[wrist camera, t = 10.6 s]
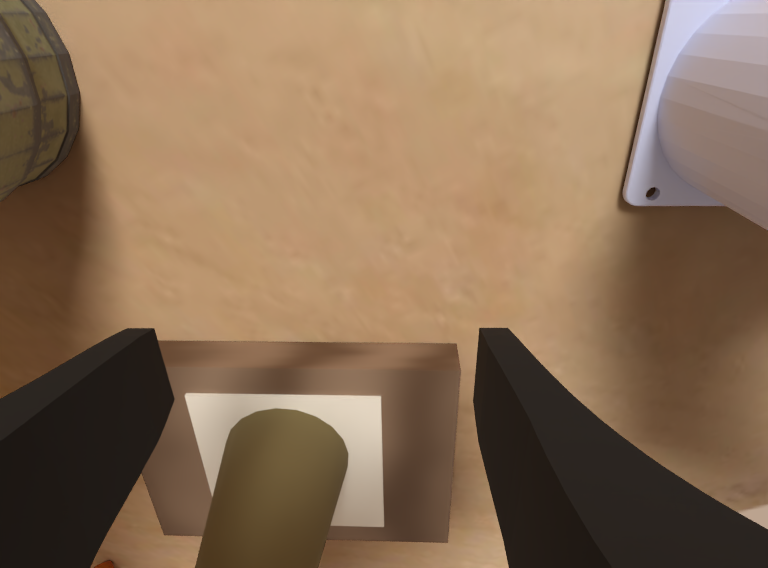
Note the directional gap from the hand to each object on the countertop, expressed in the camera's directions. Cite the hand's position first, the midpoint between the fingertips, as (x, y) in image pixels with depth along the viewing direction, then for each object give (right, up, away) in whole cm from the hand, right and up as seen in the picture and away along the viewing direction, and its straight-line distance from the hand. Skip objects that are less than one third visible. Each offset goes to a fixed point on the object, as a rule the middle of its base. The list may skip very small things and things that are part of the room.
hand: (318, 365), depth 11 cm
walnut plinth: (-3, -6, +15) cm, 17 cm away
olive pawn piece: (-3, -6, +13) cm, 15 cm away
